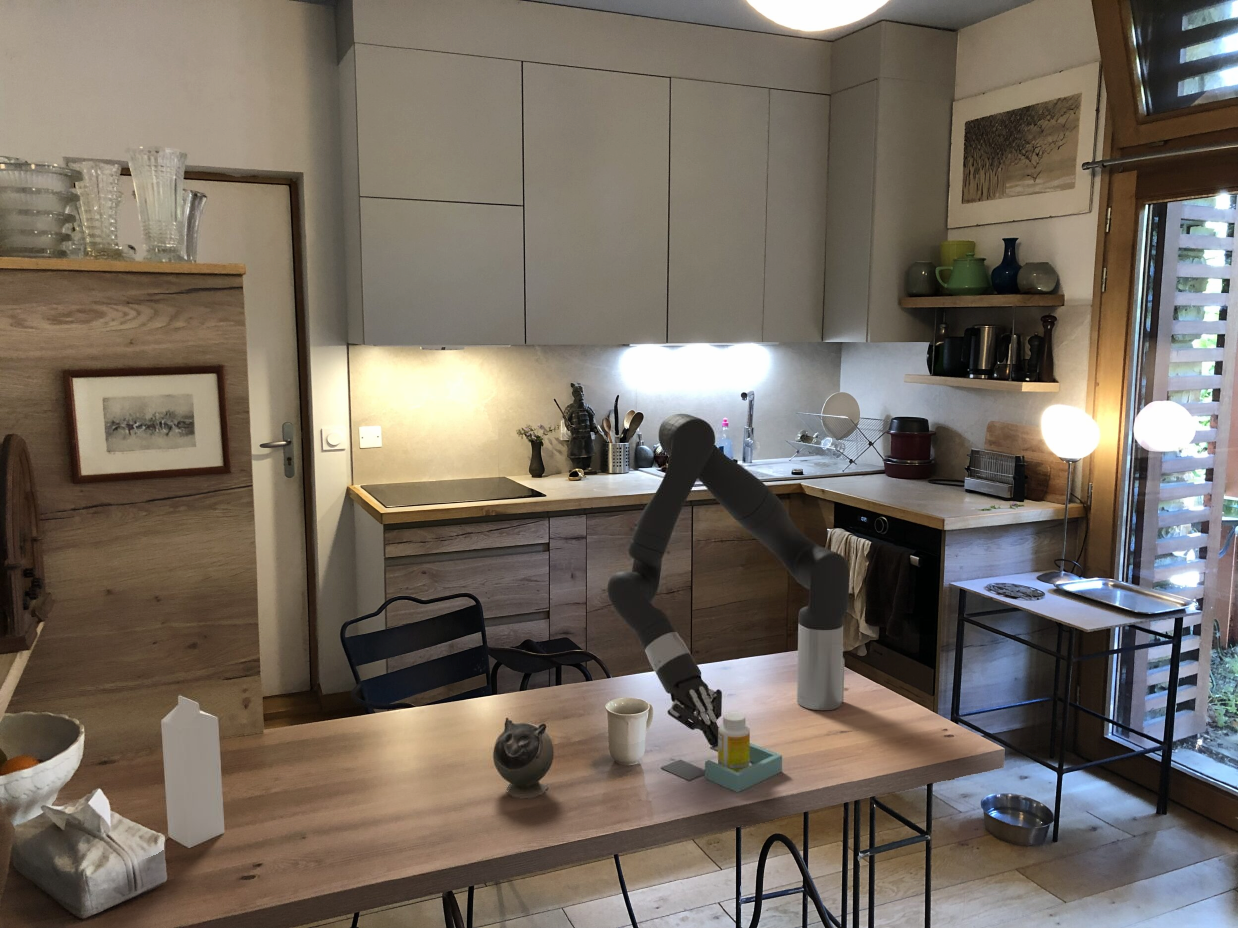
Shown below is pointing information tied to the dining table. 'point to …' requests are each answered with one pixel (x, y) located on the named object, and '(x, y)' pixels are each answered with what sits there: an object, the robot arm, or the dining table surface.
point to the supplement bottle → (733, 742)
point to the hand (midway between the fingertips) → (719, 744)
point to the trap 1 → (684, 770)
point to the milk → (192, 774)
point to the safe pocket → (746, 770)
